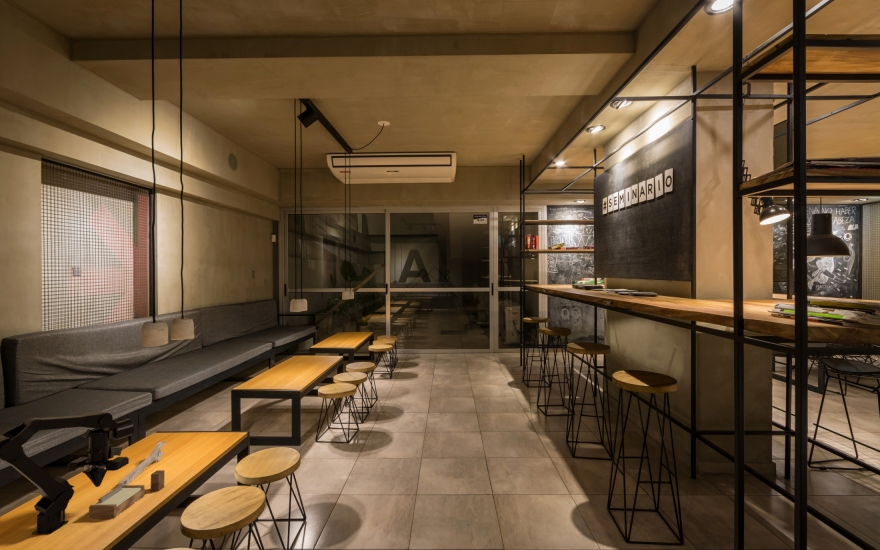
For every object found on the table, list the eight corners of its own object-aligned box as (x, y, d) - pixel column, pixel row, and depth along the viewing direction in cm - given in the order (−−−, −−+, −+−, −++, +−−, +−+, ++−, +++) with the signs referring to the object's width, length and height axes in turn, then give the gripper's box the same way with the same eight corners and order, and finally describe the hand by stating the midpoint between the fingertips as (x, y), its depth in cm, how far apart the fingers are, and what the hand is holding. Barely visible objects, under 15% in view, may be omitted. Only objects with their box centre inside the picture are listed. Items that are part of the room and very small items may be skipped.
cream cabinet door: (116, 506, 135) (116, 500, 135) (93, 507, 135) (93, 500, 135) (141, 489, 147) (141, 483, 147) (119, 489, 147) (119, 484, 147)
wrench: (118, 495, 154) (163, 454, 183) (123, 495, 154) (167, 454, 184) (117, 477, 153) (162, 439, 183) (121, 477, 153) (166, 438, 183)
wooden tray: (113, 518, 134) (114, 506, 134) (88, 518, 134) (89, 506, 134) (144, 496, 148) (144, 485, 148) (121, 496, 148) (121, 485, 148)
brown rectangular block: (158, 491, 151) (158, 474, 152) (150, 491, 151) (150, 474, 152) (164, 487, 155) (164, 470, 155) (156, 487, 155) (156, 470, 155)
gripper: (140, 436, 150) (139, 475, 149) (93, 436, 149) (92, 475, 149) (116, 448, 138) (115, 490, 138) (66, 448, 138) (65, 491, 138)
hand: (98, 486), depth 141 cm, fingers closed
